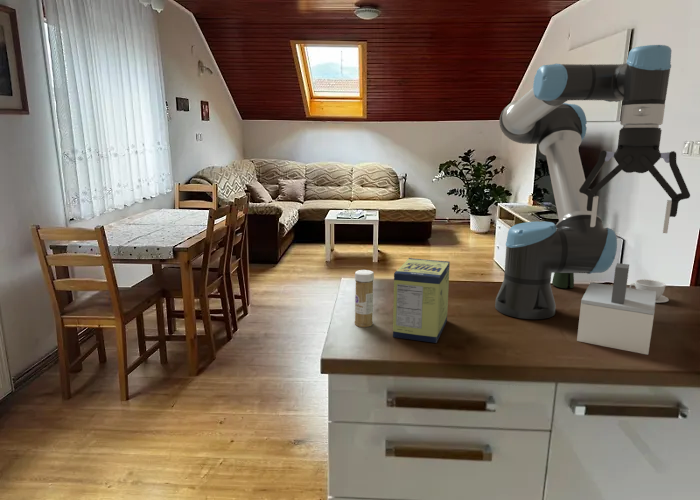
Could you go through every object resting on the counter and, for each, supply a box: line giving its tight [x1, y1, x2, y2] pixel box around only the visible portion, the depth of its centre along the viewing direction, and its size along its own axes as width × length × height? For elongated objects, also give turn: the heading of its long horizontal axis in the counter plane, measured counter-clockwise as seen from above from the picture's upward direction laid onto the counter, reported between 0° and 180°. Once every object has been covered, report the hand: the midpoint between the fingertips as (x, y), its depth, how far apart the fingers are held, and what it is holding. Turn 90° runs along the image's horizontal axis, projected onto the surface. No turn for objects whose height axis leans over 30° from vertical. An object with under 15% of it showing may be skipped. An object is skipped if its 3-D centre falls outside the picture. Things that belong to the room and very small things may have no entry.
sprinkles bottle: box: [354, 269, 375, 328], centre depth 121 cm, size 5×5×13 cm
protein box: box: [392, 257, 451, 344], centre depth 119 cm, size 10×16×16 cm
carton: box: [576, 302, 655, 355], centre depth 115 cm, size 14×16×9 cm
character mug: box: [551, 273, 575, 289], centre depth 153 cm, size 11×7×13 cm, turn 100°
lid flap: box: [580, 262, 656, 316], centre depth 113 cm, size 16×14×9 cm
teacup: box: [629, 278, 670, 304], centre depth 144 cm, size 10×10×5 cm
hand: (627, 229), depth 107 cm, fingers open, 13 cm apart
